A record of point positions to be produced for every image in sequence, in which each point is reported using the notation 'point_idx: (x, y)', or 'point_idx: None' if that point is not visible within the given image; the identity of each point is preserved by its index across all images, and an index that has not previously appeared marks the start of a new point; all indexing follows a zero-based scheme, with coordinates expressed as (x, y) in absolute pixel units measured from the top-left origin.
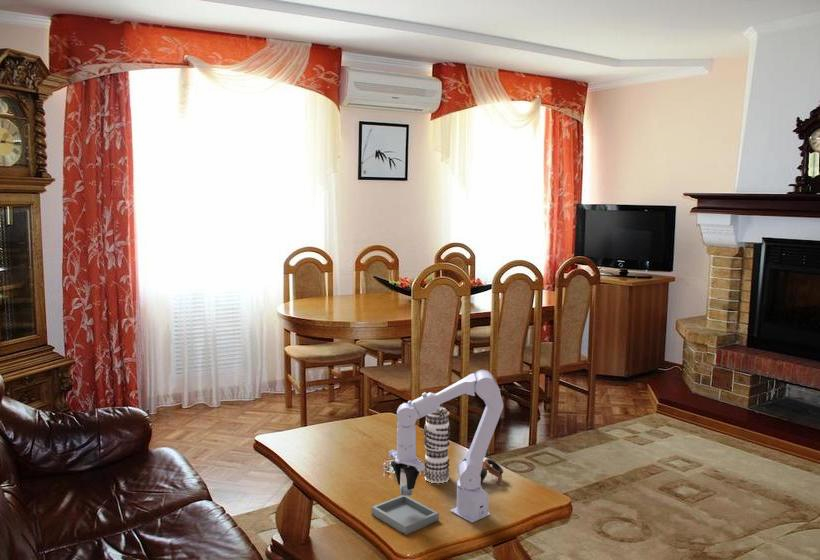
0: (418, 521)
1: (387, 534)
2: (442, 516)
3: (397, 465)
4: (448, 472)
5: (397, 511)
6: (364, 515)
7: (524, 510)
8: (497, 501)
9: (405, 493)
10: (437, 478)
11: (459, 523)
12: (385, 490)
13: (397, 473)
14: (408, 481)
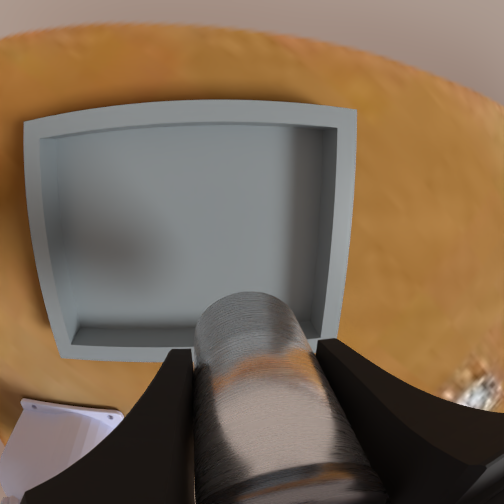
0: (29, 220)
1: (108, 50)
2: (101, 369)
3: (433, 490)
4: None
5: (254, 232)
6: (351, 83)
7: None
8: None
9: (211, 315)
10: None
11: (31, 372)
12: (438, 316)
13: (379, 404)
14: (143, 404)
